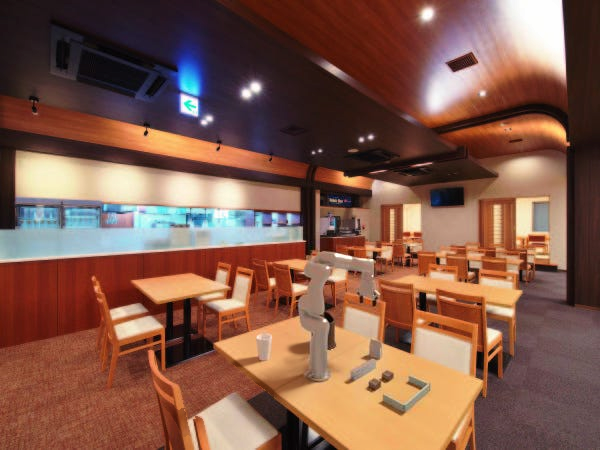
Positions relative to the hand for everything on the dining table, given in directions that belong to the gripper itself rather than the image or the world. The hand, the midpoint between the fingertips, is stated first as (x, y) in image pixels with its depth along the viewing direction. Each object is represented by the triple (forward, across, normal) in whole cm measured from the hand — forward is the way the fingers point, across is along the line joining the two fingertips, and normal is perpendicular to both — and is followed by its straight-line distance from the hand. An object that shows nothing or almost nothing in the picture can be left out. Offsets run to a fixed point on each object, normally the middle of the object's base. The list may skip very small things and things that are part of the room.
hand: (367, 304), depth 175 cm
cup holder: (+31, -24, -16) cm, 42 cm away
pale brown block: (+31, +7, -2) cm, 31 cm away
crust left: (+31, +25, -30) cm, 49 cm away
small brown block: (+31, +25, -18) cm, 43 cm away
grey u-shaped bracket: (+31, +39, -24) cm, 55 cm away
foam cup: (+31, -36, -55) cm, 73 cm away
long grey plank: (+31, +14, -24) cm, 41 cm away
